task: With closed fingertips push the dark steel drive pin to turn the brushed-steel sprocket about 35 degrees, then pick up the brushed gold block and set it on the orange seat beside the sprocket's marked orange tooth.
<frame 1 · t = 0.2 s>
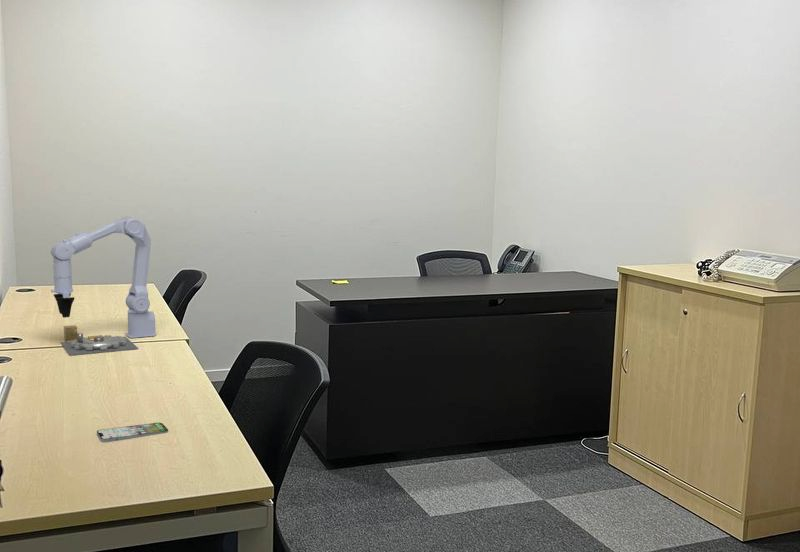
hand: (64, 315, 269), 10 cm above the table, fingers open, 7 cm apart
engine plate: (99, 346, 267), on the table
sprocket: (98, 338, 266), point 3 cm above the table, hinge at 0.0°
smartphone: (132, 435, 179), on the table
brushed gold block: (70, 340, 276), on the table
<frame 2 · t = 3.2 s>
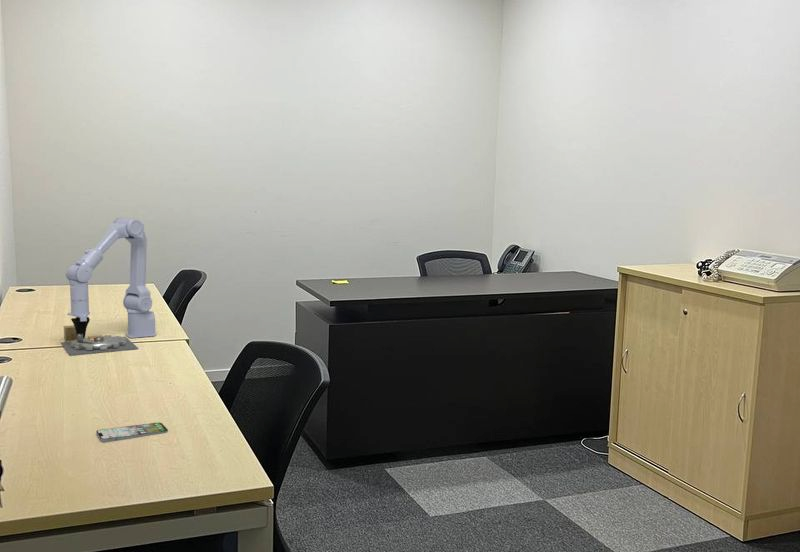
hand: (81, 338, 265), 3 cm above the table, fingers closed
sprocket: (98, 338, 266), point 3 cm above the table, hinge at 0.0°, touching gripper
everything else where it was.
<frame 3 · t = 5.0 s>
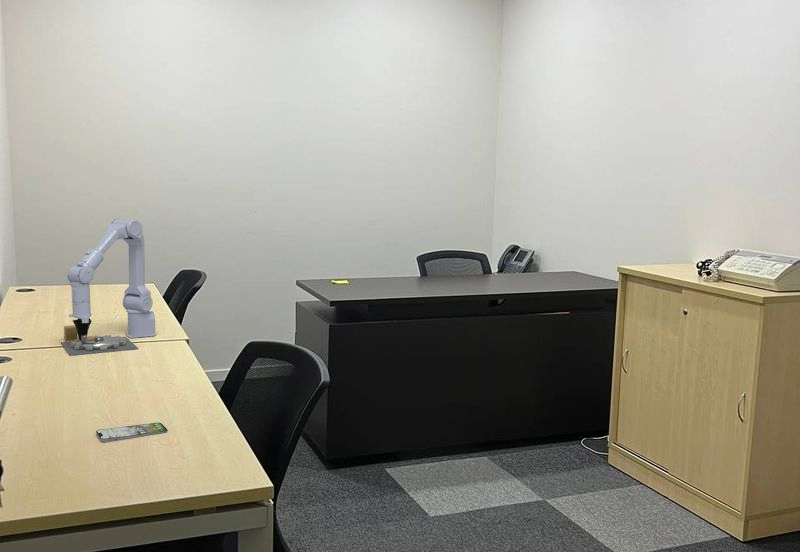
hand: (82, 340, 263), 3 cm above the table, fingers closed
sprocket: (98, 338, 266), point 3 cm above the table, hinge at 30.0°, touching gripper
everything else where it was.
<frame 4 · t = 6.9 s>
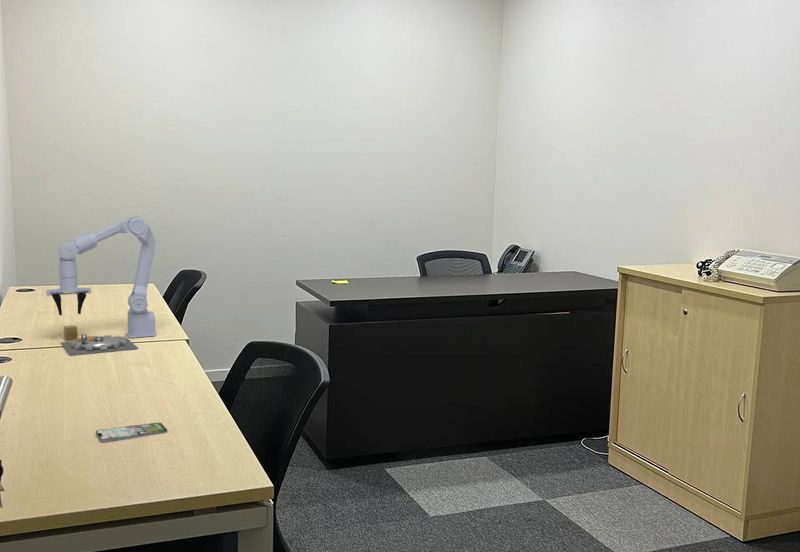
hand: (69, 314, 274), 9 cm above the table, fingers open, 6 cm apart
sprocket: (98, 338, 266), point 3 cm above the table, hinge at 30.0°
everything else where it was.
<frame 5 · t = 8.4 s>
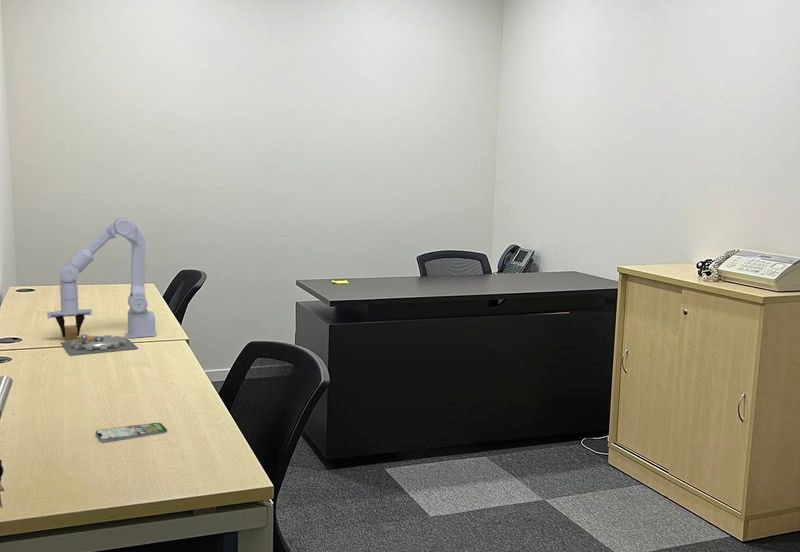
hand: (70, 336, 276), 1 cm above the table, fingers closed on brushed gold block, 4 cm apart
brushed gold block: (70, 340, 276), on the table, touching gripper
everything else where it was.
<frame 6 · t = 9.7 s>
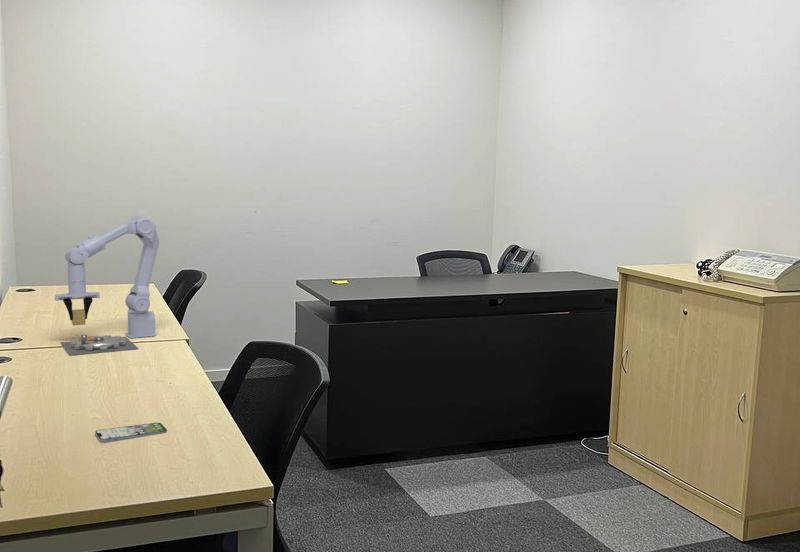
hand: (78, 319, 271), 8 cm above the table, fingers closed on brushed gold block, 4 cm apart
brushed gold block: (78, 324, 272), point 7 cm above the table, touching gripper
everything else where it was.
when the fingers open (5 cm above the table, at t = 11.1 s): brushed gold block stays where it is, resting on sprocket.
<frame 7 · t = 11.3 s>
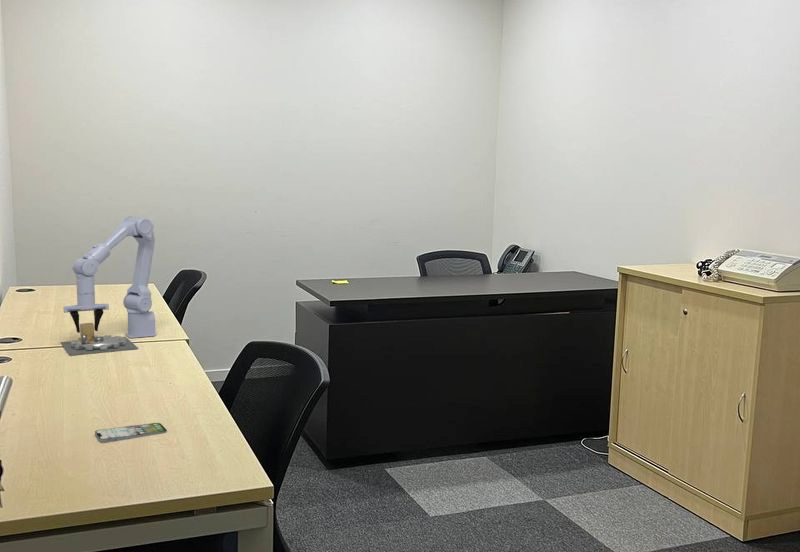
hand: (87, 331, 268), 5 cm above the table, fingers open, 5 cm apart
sprocket: (98, 338, 266), point 3 cm above the table, hinge at 30.0°, touching brushed gold block
brushed gold block: (87, 338, 269), point 2 cm above the table, touching sprocket
everything else where it was.
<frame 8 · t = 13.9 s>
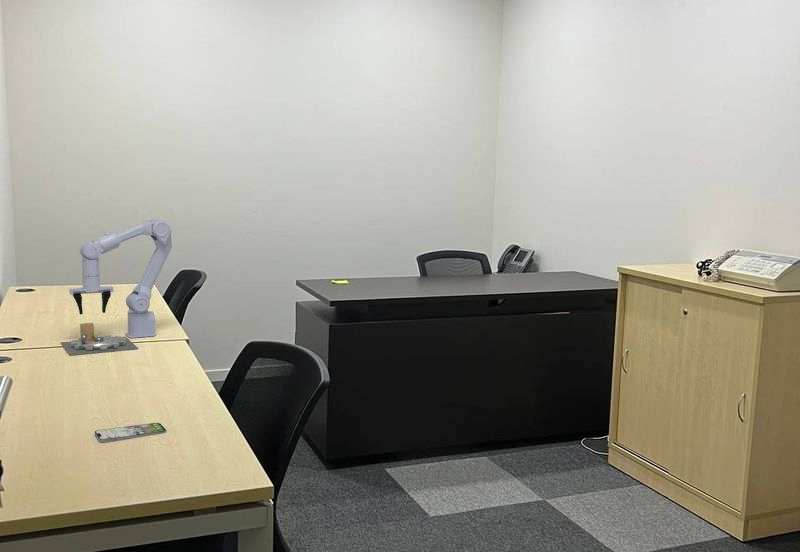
hand: (92, 313, 275), 10 cm above the table, fingers open, 7 cm apart
nothing on the table moved.
at the end: sprocket at +30° (first picture: +0°); brushed gold block 0.2 cm from the target spot, point 2.3 cm above the table; brushed gold block tilted 0° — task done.
